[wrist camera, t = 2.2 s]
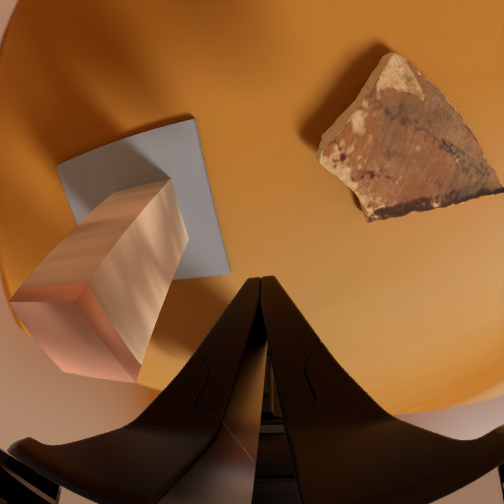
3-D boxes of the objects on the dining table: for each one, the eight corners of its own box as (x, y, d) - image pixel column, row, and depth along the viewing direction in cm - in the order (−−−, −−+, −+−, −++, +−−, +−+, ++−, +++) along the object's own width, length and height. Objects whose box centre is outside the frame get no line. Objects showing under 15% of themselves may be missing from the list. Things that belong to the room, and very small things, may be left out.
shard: (491, 182, 14) (509, 193, 12) (424, 266, 18) (436, 283, 17) (384, 48, 11) (401, 44, 9) (296, 165, 15) (301, 177, 13)
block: (188, 239, 17) (135, 382, 8) (134, 247, 17) (63, 371, 9) (171, 178, 15) (74, 300, 6) (113, 192, 15) (7, 302, 7)
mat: (230, 270, 18) (230, 274, 18) (108, 282, 19) (106, 286, 19) (195, 118, 13) (193, 119, 13) (59, 164, 14) (55, 165, 14)
